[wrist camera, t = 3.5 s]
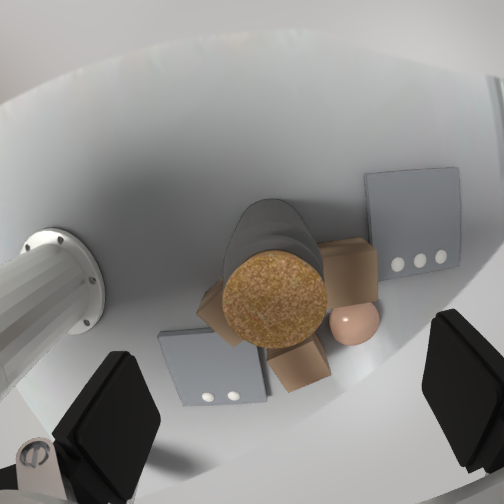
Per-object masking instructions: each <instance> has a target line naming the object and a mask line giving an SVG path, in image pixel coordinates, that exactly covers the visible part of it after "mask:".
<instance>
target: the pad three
mask: <svg viewBox="0 0 504 504" xmlns="http://www.w3.org/2000/svg"><path fill="white" fill-rule="evenodd" d="M364 183H365V193H366V203H367V215H368V228H369V244H370V245H371V246H373V247H374V248H375V249H376V250H377V273H378V281H384V280H389V279H395V278H400V277H406V276H411V275H417V274H422V273H427V272H432V271H437V270H442V269H447V268H452V267H457V266H459V260H460V186H459V171H458V168H455V167H450V168H432V169H417V170H403V171H391V172H380V173H369V174H364Z"/></svg>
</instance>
